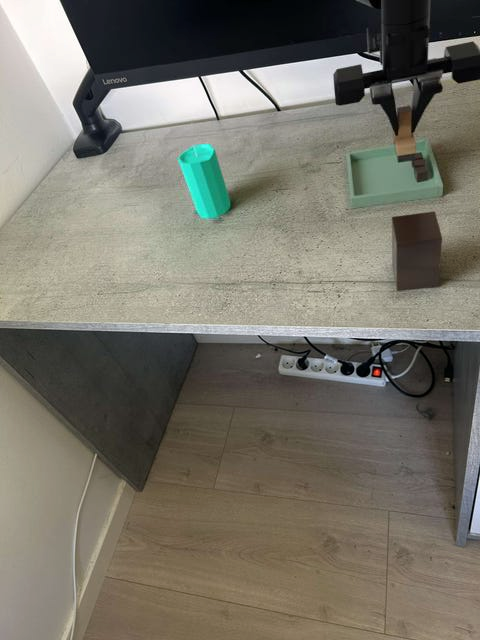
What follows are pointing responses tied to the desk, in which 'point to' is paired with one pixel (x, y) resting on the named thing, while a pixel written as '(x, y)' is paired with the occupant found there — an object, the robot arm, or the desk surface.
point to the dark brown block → (416, 251)
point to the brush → (404, 136)
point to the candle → (205, 180)
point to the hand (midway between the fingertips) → (404, 133)
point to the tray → (390, 176)
